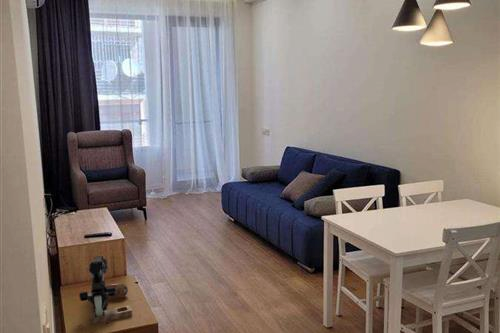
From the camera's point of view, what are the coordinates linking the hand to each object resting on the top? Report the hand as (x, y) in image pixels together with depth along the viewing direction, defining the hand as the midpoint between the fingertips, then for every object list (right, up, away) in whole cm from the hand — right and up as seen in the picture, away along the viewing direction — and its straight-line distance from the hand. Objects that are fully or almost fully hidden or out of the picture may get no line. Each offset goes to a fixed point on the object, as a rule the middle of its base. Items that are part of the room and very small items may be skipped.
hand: (98, 309), depth 246 cm
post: (0, -6, +2) cm, 7 cm away
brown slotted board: (+6, -6, +4) cm, 9 cm away
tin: (0, -3, +30) cm, 30 cm away
